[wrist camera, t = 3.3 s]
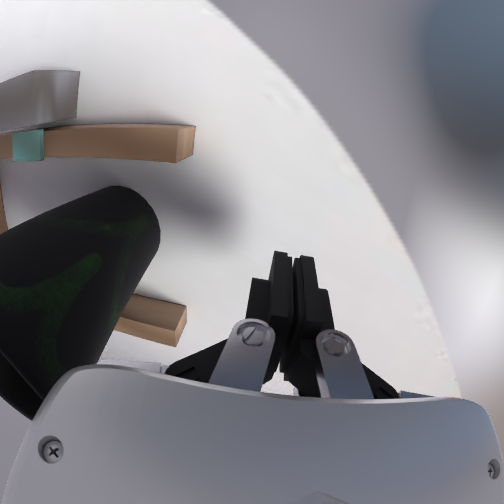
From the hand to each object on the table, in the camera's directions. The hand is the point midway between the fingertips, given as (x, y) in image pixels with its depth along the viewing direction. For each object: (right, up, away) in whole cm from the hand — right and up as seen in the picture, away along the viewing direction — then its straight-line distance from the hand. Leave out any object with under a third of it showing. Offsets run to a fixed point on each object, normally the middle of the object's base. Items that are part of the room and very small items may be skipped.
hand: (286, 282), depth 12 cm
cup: (-10, +3, +4) cm, 11 cm away
